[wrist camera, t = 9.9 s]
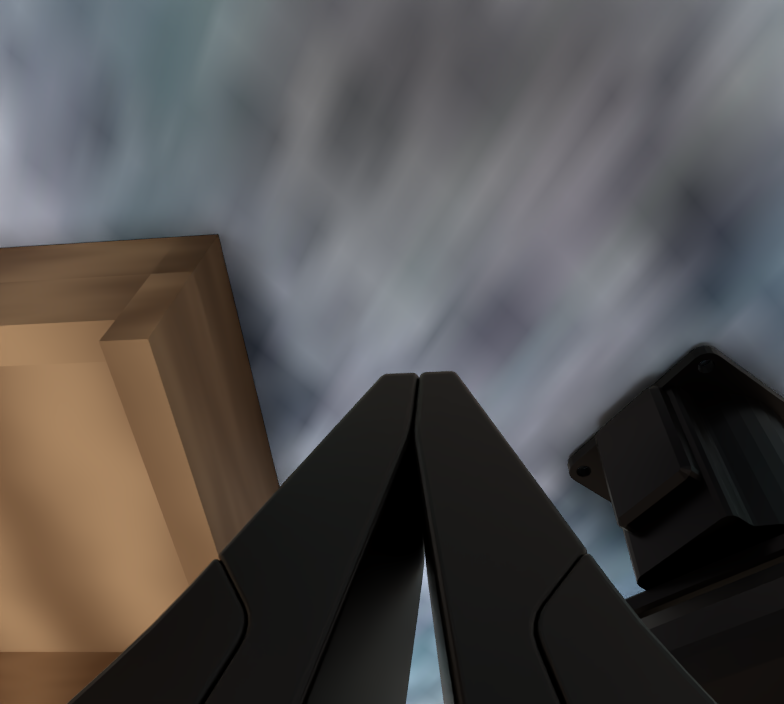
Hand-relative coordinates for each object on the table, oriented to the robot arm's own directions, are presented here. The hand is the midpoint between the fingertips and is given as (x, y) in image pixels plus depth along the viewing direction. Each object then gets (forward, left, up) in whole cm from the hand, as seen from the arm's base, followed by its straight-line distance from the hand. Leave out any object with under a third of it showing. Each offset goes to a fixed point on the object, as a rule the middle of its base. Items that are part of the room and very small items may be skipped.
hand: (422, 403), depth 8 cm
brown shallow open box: (+4, +19, -13) cm, 23 cm away
